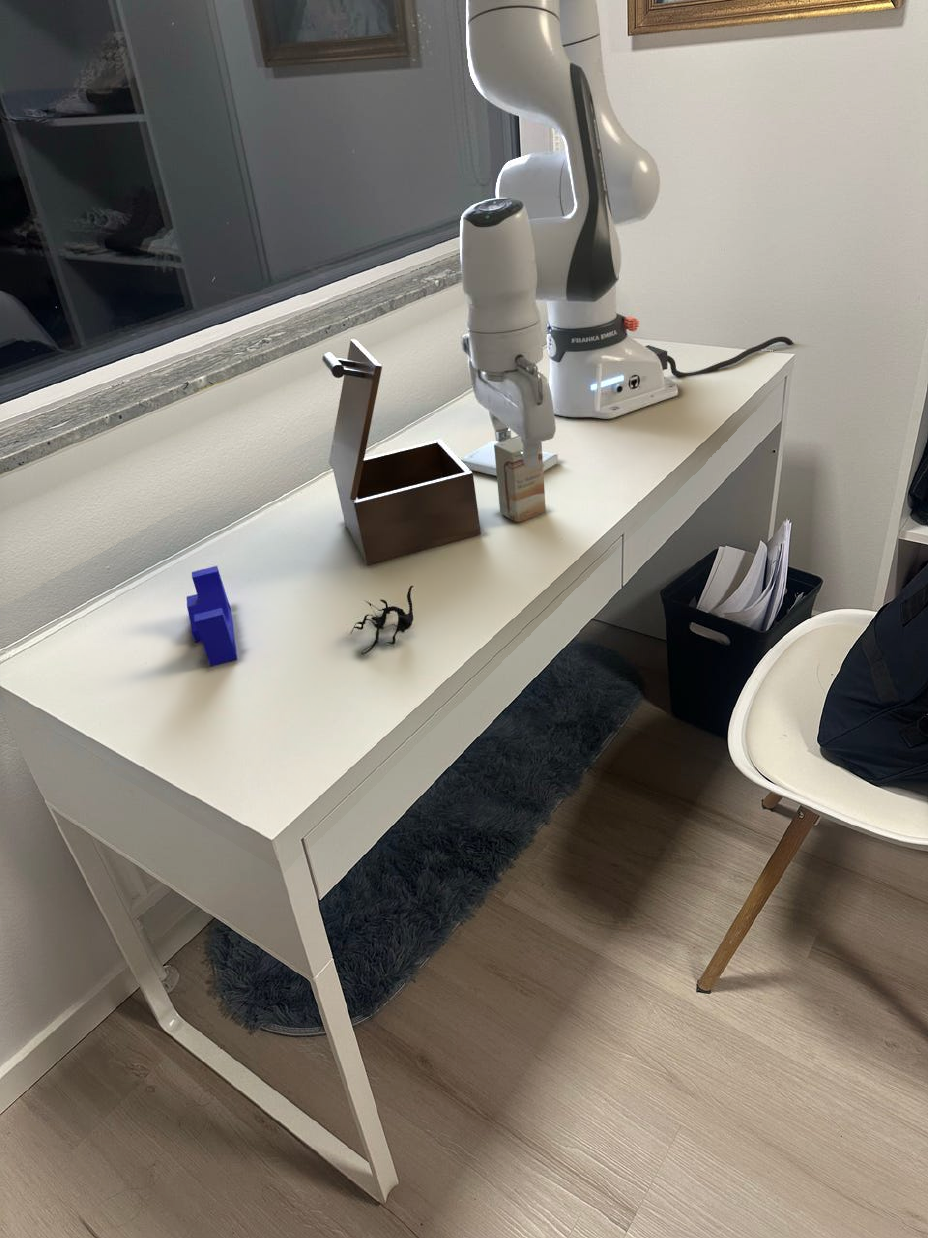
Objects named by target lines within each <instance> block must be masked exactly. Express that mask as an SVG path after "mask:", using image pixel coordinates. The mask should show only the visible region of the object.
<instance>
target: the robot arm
mask: <svg viewBox="0 0 928 1238" xmlns="http://www.w3.org/2000/svg"><path fill="white" fill-rule="evenodd" d="M465 13H466V15H465V18H466V21H465V23H466V24H465V25H466V51H467V60H468V68H469V73H470V77H471V79H472V81H473V83H474V85H475V87H476V89H477V90H478V92H479V93H480V94H481V95H482V96H483V97H484V98H485V99H486V100H487V101H488V102H489V103H491V104H492V105H493V106H495V107H496V108H499V109H500V110H503V111H504V112H507V113H509V114H511V115H514V116H517V117H521V118H524V119H526V120H530V121H534V122H537V123H540V124H541V125H542V124H543V125H545V126H547V127H549V128H551V129H553V130H554V131H555V132H556V133H557V134H558V135H559V136H560V138H561V139H562V140H563V141H564V147H565V149H562V150H550V151H549V150H548V151H539V152H533V153H529V154H526V155H523V156H520V157H517V158H515V159H512V160H509V161H508V162H506V163H505V164H504V166H503V167H502V169H501V171H500V173H499V174H498V177H497V181H496V184H495V198H491V199H485V200H483V201H480V202H477V203H475V204H473V205H470V206H469V208H467V209H466V210H465V211H464V212H463V213H462V215H461V219H460V228H459V259H460V275H461V283H462V290H463V294H464V296H465V299H466V301H467V306H468V307H467V308H468V317H467V322H466V323H467V327H466V328H467V333H466V334H463V335H461V339H460V341H461V348H462V351H463V353H464V354H466V355H467V356H466V357H467V366H468V373H469V377H470V378H469V379H470V382H471V387H472V392H473V394H474V397H475V399H476V401H477V403H478V404H480V405H481V406H482V407H483V408H484V409H485V410H487V411H488V414H489V419H490V422H491V425H492V428H493V431H494V437H495V441H496V442H498V443H499V442H502V441H505V440H507V439H510V438H512V432H514V433H515V434H516V435H517V436H520V437H521V442H522V443H523V452H520V453H521V462H522V464H523V465H524V466H525V467H526V468H532V467H536V466H537V465H538V463H539V461H538V452H539V448H540V445H541V442H542V443H543V442H545V441H550V440H552V439H553V438H554V437H555V434H556V429H557V427H556V418H555V415H557V416H561V417H569V418H597V419H602V420H603V419H604V420H610V419H614V418H617V417H620V416H623V415H626V414H628V413H631V412H634V411H637V410H640V409H643V408H646V407H648V406H651V405H655V404H657V403H659V402H662V401H663V402H664V401H665V400H668V399H672V398H674V397H676V396H678V395H679V389H678V388H679V387H678V385H677V384H676V382H674V381H673V380H672V379H670V378H668V377H666V376H665V373H664V371H665V370H668V364H669V366H670V372H671V374H672V375H673V376H675V377H676V378H686V377H691V376H692V377H693V376H697V375H702V374H709V373H713V372H714V371H717V370H720V369H722V368H726V367H728V366H731V365H733V364H736V363H738V362H739V361H742V360H743V359H744V358H746V357H748V356H750V355H751V354H754V353H757V352H759V351H762V350H764V349H766V348H767V347H770V346H772V345H774V344H777V343H784V344H786V345H788V346H791V345H794V344H795V343H794V342H793V340H792V339H790V338H789V337H786V336H775V337H773V338H770V339H768V340H766V341H764V342H762V343H760V344H757V345H756V346H753V347H752V346H751V347H750V348H748V349H746V350H744V351H742V352H740V353H739V354H737V355H735V356H734V357H731V358H729V359H726V360H724V361H723V360H722V361H720V362H717V363H714V364H712V365H710V366H708V367H706V368H702V369H699V370H697V371H693V372H682V371H680V370H677V365H676V360H675V359H674V358H673V357H672V356H670V355H669V354H668V351H667V350H665V349H661V348H659V347H656V346H652V345H649V344H648V345H644V344H642V343H641V342H639V341H638V340H636V339H634V338H633V337H631V336H629V335H628V332H627V331H630V332H635V331H637V330H638V328H639V327H640V321H639V319H637V318H634V317H632V316H627V317H626V316H625V315H623V314H619V313H617V287H616V286H617V285H616V284H617V282H618V281H619V278H620V272H621V268H622V267H621V266H622V249H621V243H620V239H619V235H618V232H617V228H618V227H623V226H626V225H630V224H635V223H637V222H640V221H644V220H645V219H646V218H647V217H648V216H649V215H650V214H651V212H652V211H653V209H654V207H655V205H656V203H657V202H658V198H659V195H660V188H661V177H660V171H659V168H658V165H657V163H656V161H655V159H654V157H653V156H652V154H651V153H649V151H648V150H647V149H645V148H644V147H642V146H641V145H640V144H638V143H637V142H636V141H635V140H634V139H633V138H632V137H631V136H630V135H629V134H628V132H627V131H626V130H625V129H624V128H623V126H622V124H621V122H620V121H619V119H618V118H617V116H616V114H615V111H614V110H613V107H612V103H611V101H610V98H609V94H608V90H607V83H606V77H605V68H604V60H603V51H602V40H601V29H600V28H601V27H600V19H599V18H600V17H599V11H598V3H597V0H466V9H465ZM541 302H546V306H547V317H548V321H547V322H546V348H547V352H548V357H549V363H550V364H549V380H548V378H547V377H546V376H545V375H544V374H543V373H541V372H540V371H538V369H539V367H538V366H537V364H538V363H540V362H541V361H542V360H543V358H544V347H543V335H542V322H541V321H542V320H541V313H540V310H539V308H538V305H537V303H541Z"/></svg>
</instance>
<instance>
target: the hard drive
mask: <svg viewBox="0 0 928 1238" xmlns="http://www.w3.org/2000/svg"><path fill="white" fill-rule="evenodd" d="M496 443H498V442H497V441H496V440H491V441H489V442H487V443H486V444H484V445H483V446H480V447H479V448H478V449H476V450H474V451H472V452H471V453H469V454H467V455H465V456H464V457H462V458H461V459H460V460H461V461H462V462H463V463H464V464H465V465H466V466H467V467H468V468H469V469H470V471H472V472H473V471H474V472H478V473H482V474H487V475H491V476H496V477H497V473H496V462H495V451H494V444H496ZM542 458H543V473H545V471H547V470H548V469H550V468H552V467H553V466H554V465H557V463H558V462H559V458H558V454H557V453H552V452H547V451H543V450H542Z"/></svg>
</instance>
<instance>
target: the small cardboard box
mask: <svg viewBox="0 0 928 1238" xmlns="http://www.w3.org/2000/svg"><path fill="white" fill-rule="evenodd" d="M494 451H495V462H496V473H497V476H496V483H497V494H498V505H499V514H501V515H503V516H505V517H506V518H508V519H509V520H512V521H513V522H515V523H520V522H523V521H526V520H528V519H531V518H534V517H536V516H538V515H541V514H543V513H546V511H547V509H546V508H547V507H546V492H545V475H544V473H545V472H543V458H542V451H543V442H541V445H540V448H539V452H538V461H539V463H538V465H537V466H536V467H532V468H526V467H525V466H524V465H523V464H522V462H521V453H520V452H523V443H522V442H521V437H520V436H518V435H517V436H513V437H511V438H510V439H507V440H505V441H502V442H499V443H496V444H494Z"/></svg>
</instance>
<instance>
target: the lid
mask: <svg viewBox="0 0 928 1238" xmlns="http://www.w3.org/2000/svg"><path fill="white" fill-rule="evenodd" d="M321 360H322V363H323V364H324V366H325V368H327V370H328V371H329V372H330V373H331V375H332V376H333V377H334V378H336V379H341V378H342V377H343V380H342V385H341V392H340V398H339V403H338V408H337V414H336V420H335V425H334V431H333V436H332V441H331V446H330V447H331V448H330V454H329V457H328V463H329V466H330V468H331V469H332V472H333V471H334V472H335V474H336V476H337V478H338V479H339V481H340V483H341V485H342V486H343V488H344V490H345V492H346V493H347V495H348V497H349V499H350V500H356V498H357V493H358V488H359V483H360V478H361V473H362V467H363V462H364V458H366V453H367V452H366V451H367V447H368V443H369V436H370V432H371V427H372V422H373V421H372V420H373V417H374V412H375V411H374V410H375V405H376V401H377V395H378V391H379V387H380V386H379V385H380V382H381V381H380V380H381V375H382V370H383V366H382V365H381V363H379V362H378V361H377V359H376V358H375V357H373V355H371V354H370V353H369V351H368V350H367V349H366V348H365V347H364V346H363V345H362V344H361V343H360V342H359V341H358V340H357V339H350V342H349V346H348V352H347V358H346V359H344V358H340V357H339V358H338V357H336V356H335V355H334V354H333V353H332V352H327V353H325V354H323V356H322V359H321ZM334 472H333V473H334Z"/></svg>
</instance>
